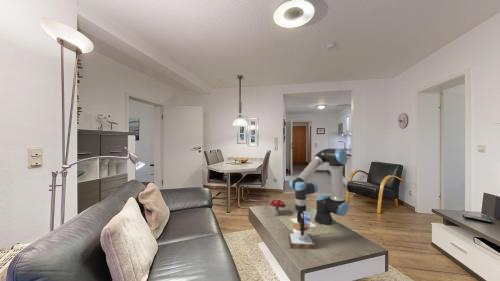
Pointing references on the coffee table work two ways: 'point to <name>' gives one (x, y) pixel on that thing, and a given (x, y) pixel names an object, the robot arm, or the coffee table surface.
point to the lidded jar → (297, 231)
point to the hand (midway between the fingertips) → (300, 235)
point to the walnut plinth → (301, 242)
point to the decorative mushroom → (277, 206)
